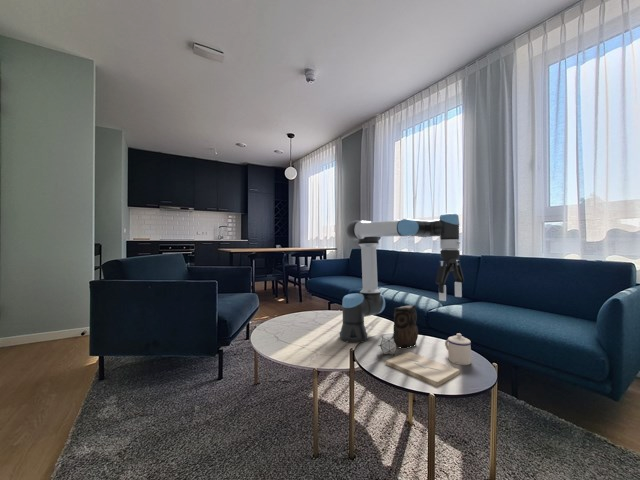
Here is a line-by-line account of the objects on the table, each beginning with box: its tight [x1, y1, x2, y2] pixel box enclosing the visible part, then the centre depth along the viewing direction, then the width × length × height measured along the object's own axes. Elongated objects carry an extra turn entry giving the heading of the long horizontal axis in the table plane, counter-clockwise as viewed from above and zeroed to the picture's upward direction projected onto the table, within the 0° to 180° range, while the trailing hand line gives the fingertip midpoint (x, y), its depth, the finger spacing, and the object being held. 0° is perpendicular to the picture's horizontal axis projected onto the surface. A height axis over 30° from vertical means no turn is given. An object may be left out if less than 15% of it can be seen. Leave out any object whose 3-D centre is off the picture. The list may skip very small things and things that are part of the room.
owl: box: [392, 304, 419, 349], centre depth 135 cm, size 13×13×20 cm
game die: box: [378, 335, 398, 357], centre depth 123 cm, size 9×8×10 cm
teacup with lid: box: [444, 332, 472, 366], centre depth 117 cm, size 12×9×12 cm
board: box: [385, 351, 461, 387], centre depth 109 cm, size 23×16×2 cm
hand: (450, 298), depth 116 cm, fingers open, 13 cm apart
